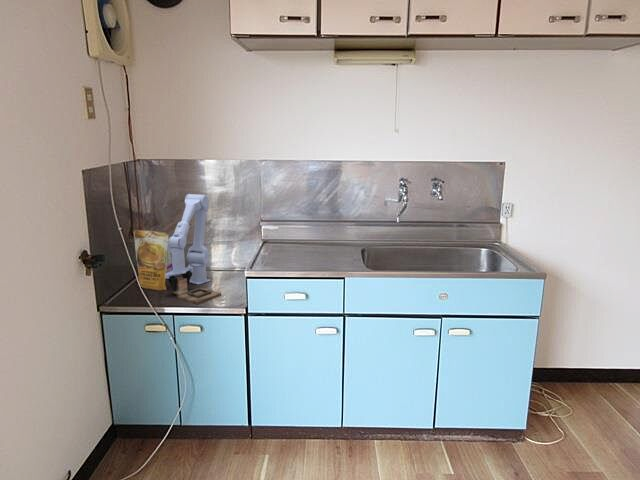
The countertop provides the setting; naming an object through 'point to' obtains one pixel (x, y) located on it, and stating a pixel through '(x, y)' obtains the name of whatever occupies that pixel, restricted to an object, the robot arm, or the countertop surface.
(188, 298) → the socket board
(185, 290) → the block stack
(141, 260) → the pancake mix bag
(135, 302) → the countertop surface
